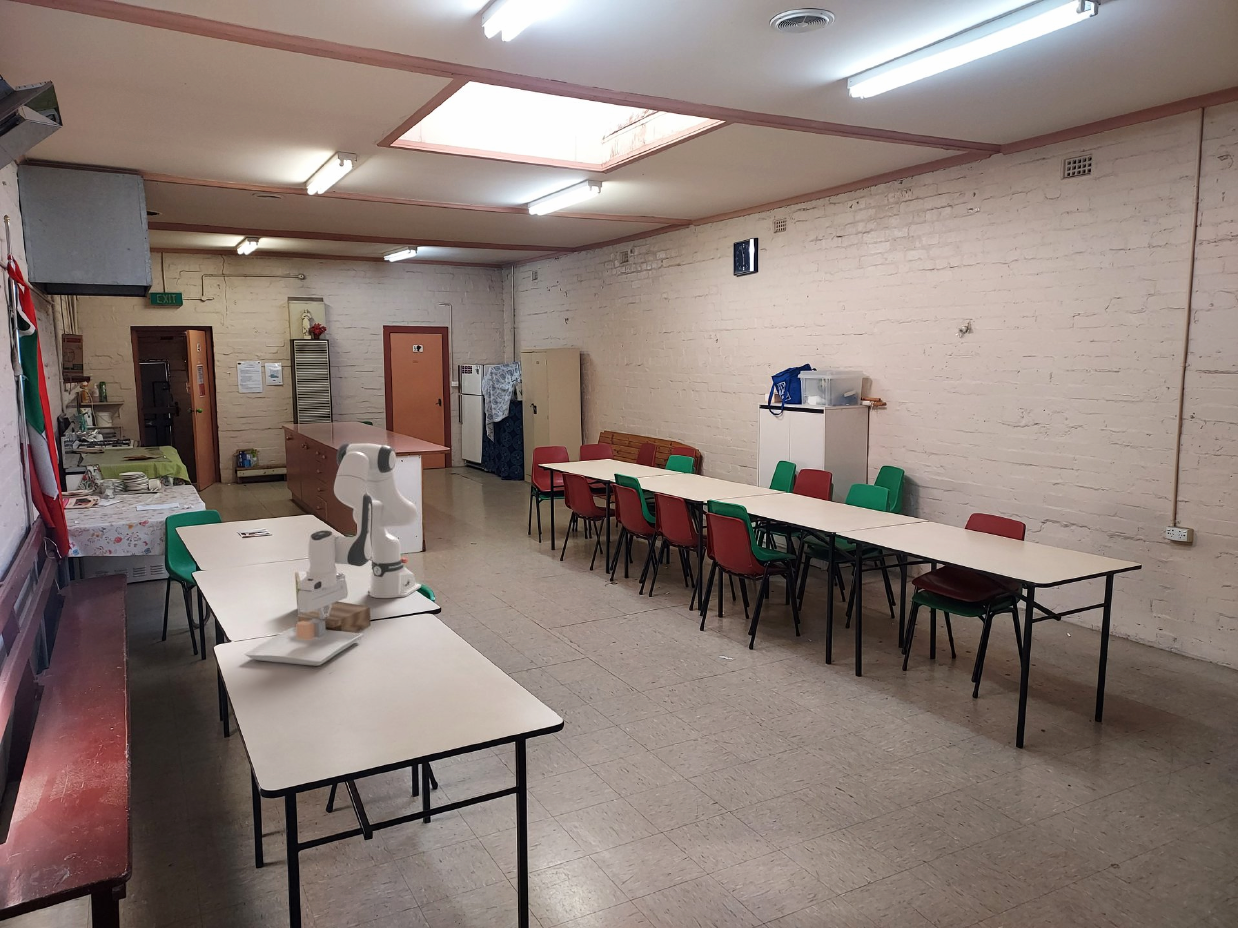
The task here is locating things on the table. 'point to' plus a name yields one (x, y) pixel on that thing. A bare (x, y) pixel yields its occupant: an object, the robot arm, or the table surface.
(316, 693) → the table surface
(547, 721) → the table surface
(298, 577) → the tea box
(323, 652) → the square plate
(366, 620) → the wooden box
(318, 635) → the tile
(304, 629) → the tile
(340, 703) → the table surface
